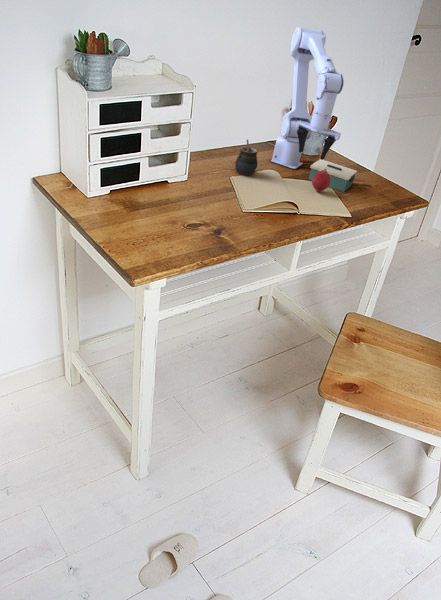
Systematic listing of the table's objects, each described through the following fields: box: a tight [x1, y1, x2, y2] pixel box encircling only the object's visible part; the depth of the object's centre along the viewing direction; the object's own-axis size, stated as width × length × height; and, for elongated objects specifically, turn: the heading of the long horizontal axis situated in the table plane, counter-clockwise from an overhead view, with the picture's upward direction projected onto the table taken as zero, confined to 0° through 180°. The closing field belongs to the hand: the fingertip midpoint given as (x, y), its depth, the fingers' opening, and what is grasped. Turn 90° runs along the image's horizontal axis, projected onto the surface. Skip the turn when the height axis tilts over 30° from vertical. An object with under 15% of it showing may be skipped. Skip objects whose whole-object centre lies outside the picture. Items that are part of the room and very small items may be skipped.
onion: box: [311, 168, 331, 193], centre depth 179 cm, size 6×6×8 cm
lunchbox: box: [307, 158, 358, 193], centre depth 189 cm, size 14×10×6 cm, turn 61°
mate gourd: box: [234, 139, 258, 176], centre depth 182 cm, size 7×8×10 cm
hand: (311, 155), depth 181 cm, fingers open, 7 cm apart
